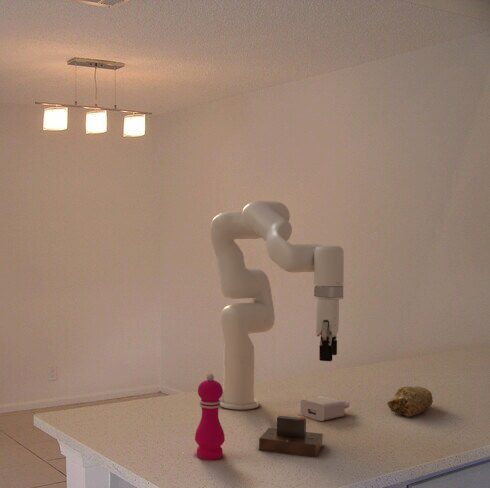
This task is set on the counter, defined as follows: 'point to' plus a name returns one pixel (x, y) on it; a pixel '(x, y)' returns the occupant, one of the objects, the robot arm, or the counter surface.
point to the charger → (323, 408)
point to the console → (291, 443)
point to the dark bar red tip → (291, 426)
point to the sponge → (410, 401)
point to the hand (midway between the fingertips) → (328, 357)
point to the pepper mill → (209, 420)
